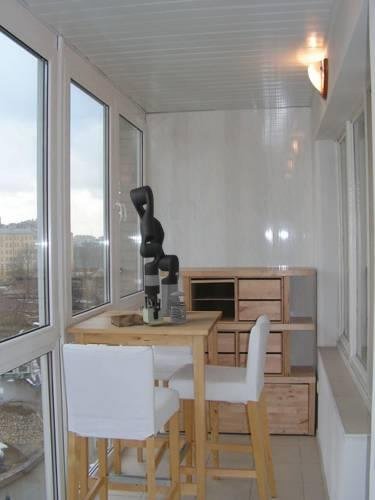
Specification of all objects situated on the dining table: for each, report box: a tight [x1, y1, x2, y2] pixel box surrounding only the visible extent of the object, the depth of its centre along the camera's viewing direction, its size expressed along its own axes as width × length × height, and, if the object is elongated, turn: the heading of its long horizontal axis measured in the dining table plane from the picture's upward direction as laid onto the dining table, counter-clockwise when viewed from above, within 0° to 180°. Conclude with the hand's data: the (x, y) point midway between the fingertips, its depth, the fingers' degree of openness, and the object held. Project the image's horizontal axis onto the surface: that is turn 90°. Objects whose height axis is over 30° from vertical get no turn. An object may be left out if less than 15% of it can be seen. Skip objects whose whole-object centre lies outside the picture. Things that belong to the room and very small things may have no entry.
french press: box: [165, 272, 189, 324], centre depth 278 cm, size 10×12×25 cm
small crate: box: [142, 306, 164, 324], centre depth 266 cm, size 8×6×6 cm
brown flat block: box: [110, 313, 146, 328], centre depth 274 cm, size 13×12×4 cm
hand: (153, 318), depth 267 cm, fingers closed on small crate, 6 cm apart
